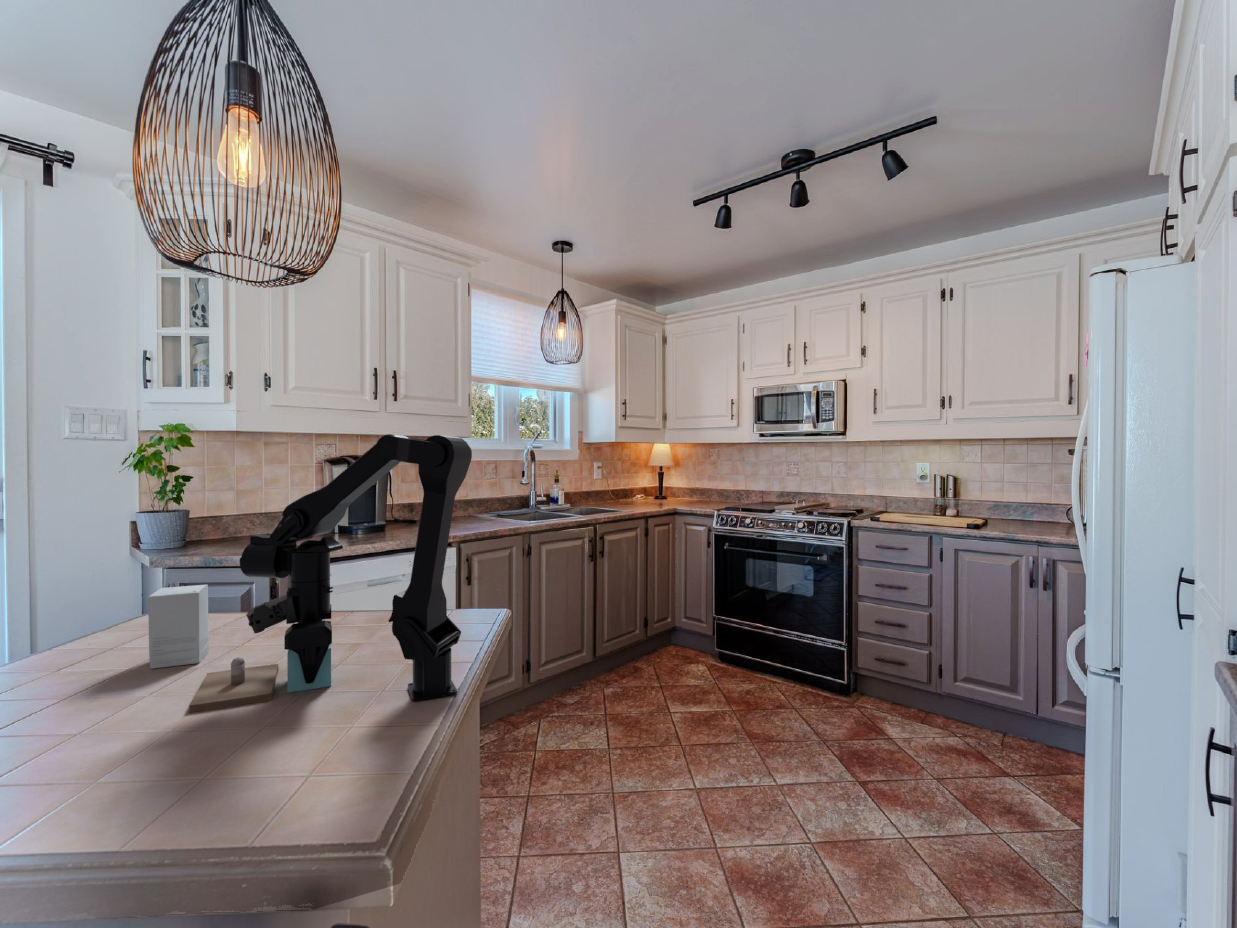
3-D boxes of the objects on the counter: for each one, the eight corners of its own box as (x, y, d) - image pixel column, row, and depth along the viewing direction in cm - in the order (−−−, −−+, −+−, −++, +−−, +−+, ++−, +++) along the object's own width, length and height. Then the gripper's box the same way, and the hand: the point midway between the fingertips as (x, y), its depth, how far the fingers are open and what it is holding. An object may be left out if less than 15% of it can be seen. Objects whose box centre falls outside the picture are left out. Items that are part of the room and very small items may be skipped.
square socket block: (331, 686, 93) (331, 648, 93) (287, 692, 90) (287, 653, 90) (330, 673, 98) (330, 637, 98) (289, 679, 95) (289, 642, 95)
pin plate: (271, 699, 87) (271, 666, 87) (189, 712, 83) (189, 677, 83) (278, 669, 100) (278, 640, 100) (207, 679, 95) (207, 648, 95)
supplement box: (210, 651, 109) (210, 583, 109) (199, 664, 102) (199, 591, 102) (161, 656, 106) (161, 586, 106) (147, 669, 100) (146, 595, 100)
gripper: (257, 572, 99) (257, 665, 99) (243, 596, 82) (243, 707, 82) (331, 567, 104) (331, 655, 104) (331, 588, 87) (332, 693, 87)
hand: (310, 676), depth 94 cm, fingers closed on square socket block, 6 cm apart
